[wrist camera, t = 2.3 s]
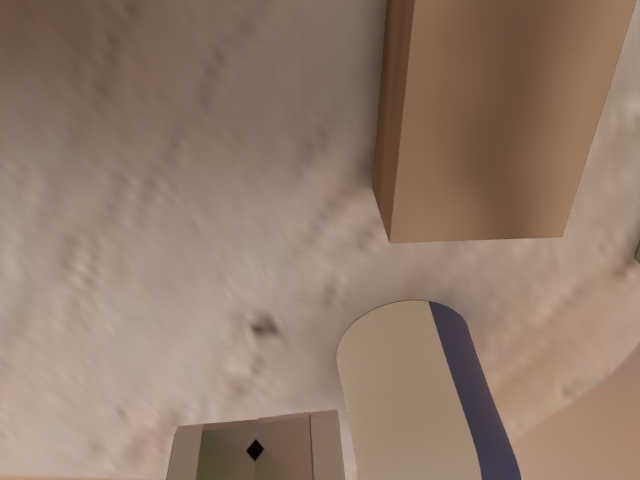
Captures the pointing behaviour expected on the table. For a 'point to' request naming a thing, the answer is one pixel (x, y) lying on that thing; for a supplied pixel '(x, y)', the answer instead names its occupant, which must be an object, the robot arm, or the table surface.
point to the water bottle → (421, 398)
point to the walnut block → (490, 113)
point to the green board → (638, 254)
